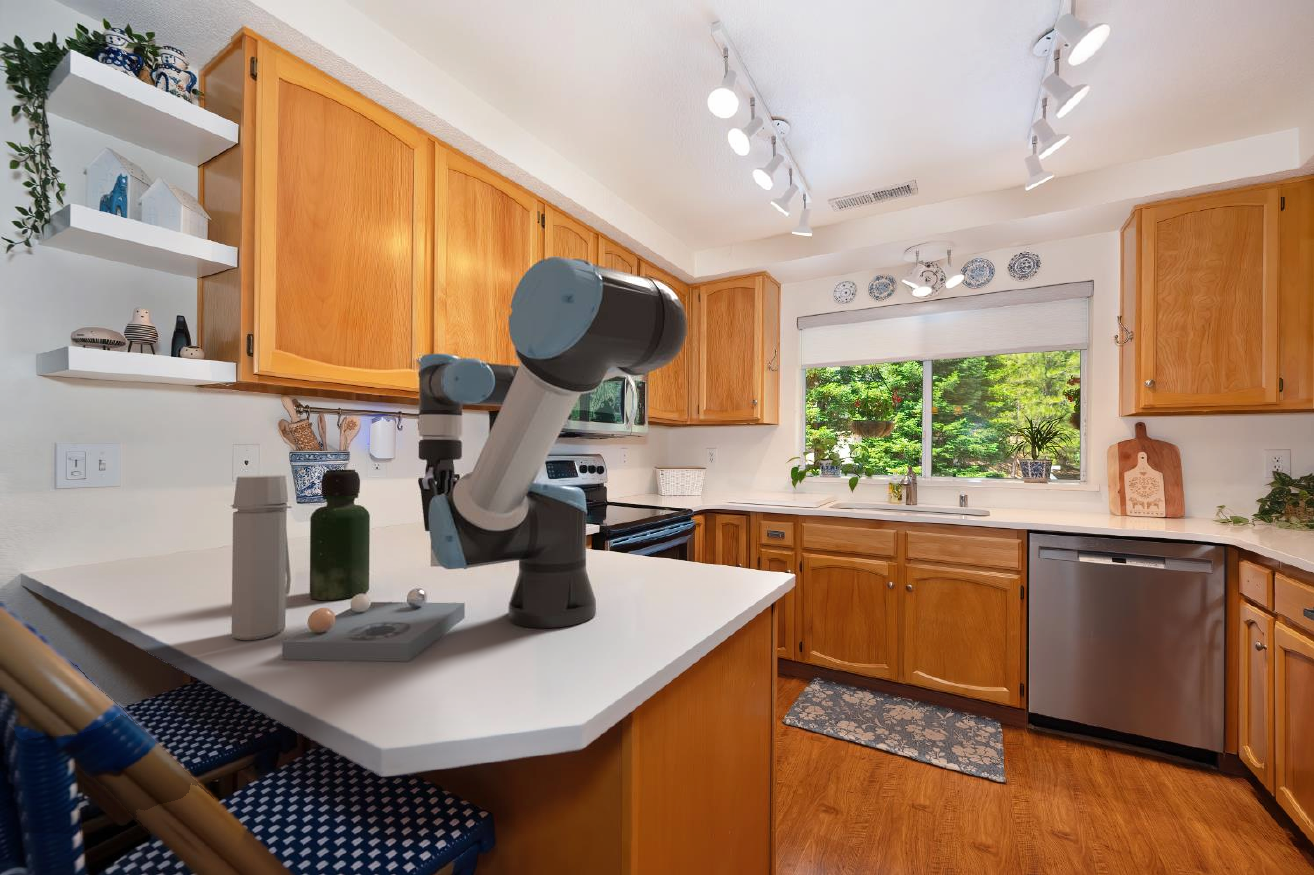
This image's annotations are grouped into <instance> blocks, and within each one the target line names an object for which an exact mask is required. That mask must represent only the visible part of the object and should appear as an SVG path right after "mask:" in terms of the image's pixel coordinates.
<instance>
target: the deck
mask: <svg viewBox="0 0 1314 875" xmlns="http://www.w3.org/2000/svg"><path fill="white" fill-rule="evenodd" d="M465 604H466V602H426V603H425V604H424V605H423V606H421V607H419V608H413V607H411V606H410V605H409V604H408V603H407V601H402V602H401V601H398V602H397V601H371V605H370V607H369V608H368V609H367V610H366V611H364V612H361V613H358V612H355V611H353V610H352V608H351V607H350V608H349V609H347V610H344V611H342V612H340V613H337V614H336V615H335V623H334V625H333V626H332V628H331V629H329V630H328V631H326V632H323V633H316V632H313V631H312V630H310V628H309V627H308V628H307V629H305V630H303V631H301V632H299V633H296V634H294V635H292V636H291V637H289V638H287V639H285V640H283V641H282V642H281V643H282V644H281V648H282V650H281V654H282V655H281V660H284V661H285V660H288V661H291V660H293V661H294V660H295V661H349V662H350V661H353V662H355V661H356V662H360V661H361V662H404V663H405V662H410V661H411V660H412V659H414V658H415V657H416V656H417V655H419V654H420V653H421V652H423V651H424V650H425V649H427V648H428V647H429V646H430V645H432V644H433V643H434V642H435V641H437V640H438V639H439V638H441V636H443V635H444V634H445V633H447V632H448V631H449V630H451V629H452V628H453V627H454V626H455V625H457V624H458V623H460V622H461V621H462V620H463V619H465V615H466V614H465V610H466V609H465Z"/></svg>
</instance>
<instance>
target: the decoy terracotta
mask: <svg viewBox="0 0 1314 875" xmlns="http://www.w3.org/2000/svg"><path fill="white" fill-rule="evenodd" d="M335 614H336V613H335V612H334V611H333V610H331V609H330V608H327V607H321V608H320V607H319V608H317V609H315V610H314V611H312V612H311V613H310V615H309V616H308V618H307V627H308V629H309V628H310V630H312V631H313V632H316V633H323V632H326V631H328V630H329V629H331V628H332V626H333V625H334V623H335V616H336V615H335Z"/></svg>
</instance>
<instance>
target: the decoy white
mask: <svg viewBox="0 0 1314 875" xmlns="http://www.w3.org/2000/svg"><path fill="white" fill-rule="evenodd" d="M371 602H372V600H371V597H370V596H369V595H368V594H366V593H364V594H357V595H356V596H354V597H352V598H351V600H350V608H352V610H353V611H355V612H358V613H361V612H364V611H366V610H367V609H368V608H369V607H370V605H371Z"/></svg>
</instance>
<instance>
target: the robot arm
mask: <svg viewBox="0 0 1314 875" xmlns="http://www.w3.org/2000/svg"><path fill="white" fill-rule="evenodd" d="M680 300H681V299H680V298H679V297H678V296H677V295H676V293H675V292H674V291H673V290H672V289H671V288H669V286H667V285H666V284H663V282H661V281H659V280H657V279H653V278H651V277H647V276H640V275H637V274H633V273H629V272H625V271H620V270H616V269H613V268H608V267H605V266H601V265H598V264H594V263H592V262H590V261H587V260H584V259H580V258H572V259H571V258H567V257H561V256H550V257H547V258H543V259H541V260H539V261H537V262H535V263H534V264H533V265H532V266H531V267H529V269H527V270H526V272H525V273H524V274H523V276H522V277H521V278H520V280H519V281H518V283H517V286H516V288H515V291H514V293H513V295H512V299H511V302H510V308H511V313H510V314H509V316H508V332H509V337H510V340H511V343H512V345H513V346H514V353H515V356H516V358H517V360H518V362H519V365H510V364H500V363H493V362H492V363H490V362H484V361H482V360H481V359H478V358H474V357H471V358H470V357H469V358H466V357H463V358H462V357H460V356H458V355H453V354H448V353H427V354H424V355H422V356H421V357H420V360H419V369H418V372H417V373H418V374H417V375H418V387H419V388H418V391H419V392H418V421H417V425H418V435H419V437H422V439H419V441H418V458H419V460H422V461H426V465H425V471H424V472H425V475H424V477H419V478H418V479H417V480H418V481H417V484H418V486H419V490H420V496H421V506H422V514H423V523H424V526H423V528H424V530H425V532H429V537H430V567H440V568H443V569H446V570H458V569H459V570H460V569H463V570H467V569H471V568H475V567H476V568H478V567H483V566H490V565H497V564H504V563H509V562H515V561H518V575H517V578H516V581H515V584H514V587H513V590H512V594H511V597H510V600H509V602H508V607H507V608H508V612H507V613H508V614H507V615H508V617H507V618H508V621H510V622H511V623H513V624H515V625H518V626H521V627H528V628H538V629H539V628H540V629H542V628H543V629H545V628H546V629H548V628H549V629H550V628H551V629H552V628H560V627H562V628H563V627H568V626H575V625H577V624H581V623H584V622H587V621H590V620H591V619H593V618H594V617H595V616H596V614H597V600H596V597H595V593H594V591H593V587H592V584H591V581H590V578H589V575H588V571H587V514H588V509H587V501H586V500H587V499H586V493H585V492H584V490H583V489H582V488H580V487H577V486H568V485H560V484H548V483H542V482H541V483H538V482H535V480H536V479H537V476H538V474H539V472H540V471H541V469H542V467H543V465H544V463H545V461H546V460H547V458H548V456H549V453H550V452H551V450H552V448H553V447H554V445H555V444H556V441H557V439H558V437H559V435H560V434H561V432H562V430H563V428H564V426H565V424H566V423H567V421H568V419H569V416H571V414H572V412H573V409H574V408H575V406H576V404H577V402H578V401H579V398H580V397H581V395H583V394H588V393H592V392H594V391H595V390H596V389H598V388H599V386H600V385H601V383H604V382H605V381H608V380H611V379H613V378H616V377H619V376H622V375H626V376H630V377H638V376H642V375H644V374H648V373H650V372H653V371H656V370H659V369H661V368H663V367H665V366H667V365H669V363H672V361H673V360H674V359H675V358H676V357H677V356H678V355H679V354H680V353H681V350H682V348H683V347H684V343H685V342H686V338H687V333H688V332H687V331H688V321H687V315H686V312H685V311H686V310H685V309H684V306H683V304H682V302H681V301H680ZM463 405H471V406H472V405H473V406H492V407H493V406H494V407H495V406H496V407H500V409H499V412H498V413H497V415H496V418H495V420H494V423H493V424H492V426H491V429H490V432H489V434H488V436H487V438H486V441H485V443H484V445H483V447H482V450H481V452H480V453H479V457H478V458H477V461H476V462H475V466H474V468H473V469H472V472H471V471H470V472H468V473H466V474H464V475H463V476H460V473H455V465H454V461H457V460H461V459H462V457H463V453H462V452H463V441H461V439H460V438H461V437H462V436H463Z"/></svg>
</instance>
